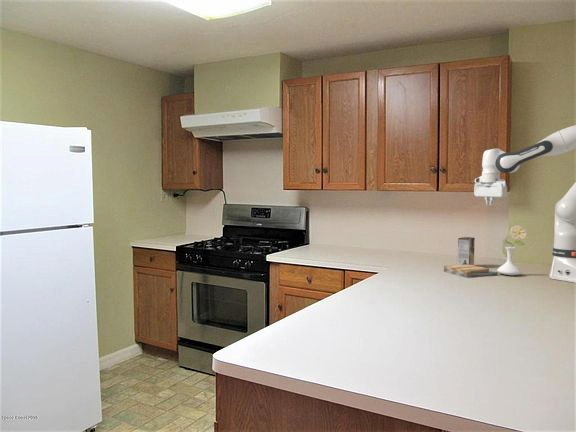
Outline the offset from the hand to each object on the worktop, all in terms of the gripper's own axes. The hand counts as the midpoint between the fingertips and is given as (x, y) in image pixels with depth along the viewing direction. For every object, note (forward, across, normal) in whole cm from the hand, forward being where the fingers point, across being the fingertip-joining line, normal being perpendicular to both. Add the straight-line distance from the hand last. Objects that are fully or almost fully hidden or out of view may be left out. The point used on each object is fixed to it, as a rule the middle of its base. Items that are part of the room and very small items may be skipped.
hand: (489, 205), depth 250 cm
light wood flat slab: (+32, -6, +18) cm, 38 cm away
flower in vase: (+34, -16, 0) cm, 38 cm away
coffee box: (+34, +11, +5) cm, 36 cm away
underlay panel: (+34, -6, +17) cm, 39 cm away
